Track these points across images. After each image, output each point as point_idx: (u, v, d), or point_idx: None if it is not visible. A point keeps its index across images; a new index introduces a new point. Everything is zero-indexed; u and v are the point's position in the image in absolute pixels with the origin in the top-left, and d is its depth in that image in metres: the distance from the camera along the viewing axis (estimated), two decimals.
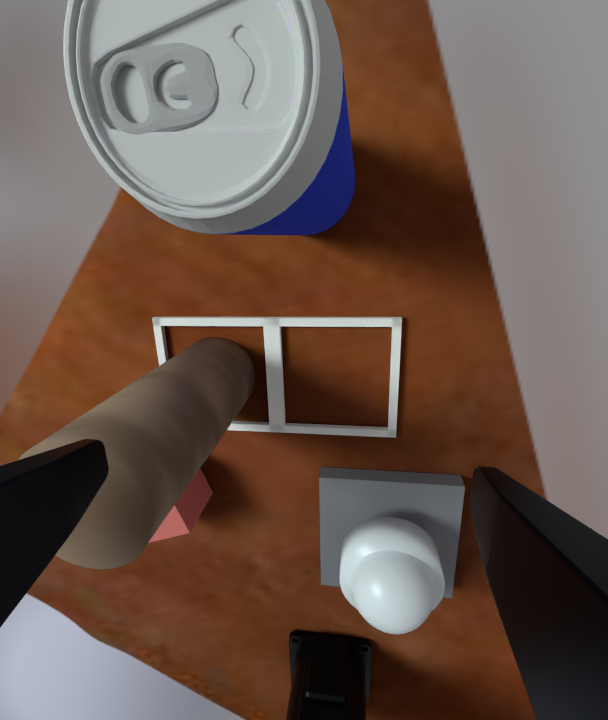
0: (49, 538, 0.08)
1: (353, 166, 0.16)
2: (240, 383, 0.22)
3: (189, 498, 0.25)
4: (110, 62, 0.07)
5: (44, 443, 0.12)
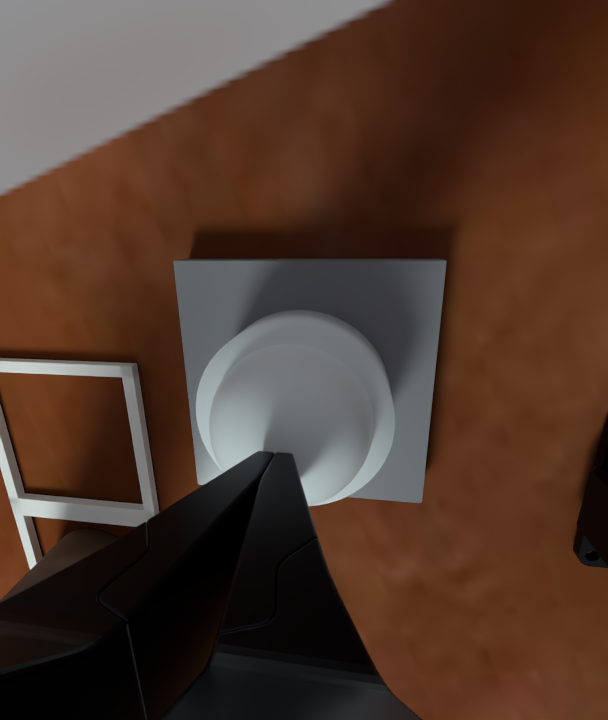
0: None
1: None
2: (36, 576, 0.16)
3: None
4: None
5: None
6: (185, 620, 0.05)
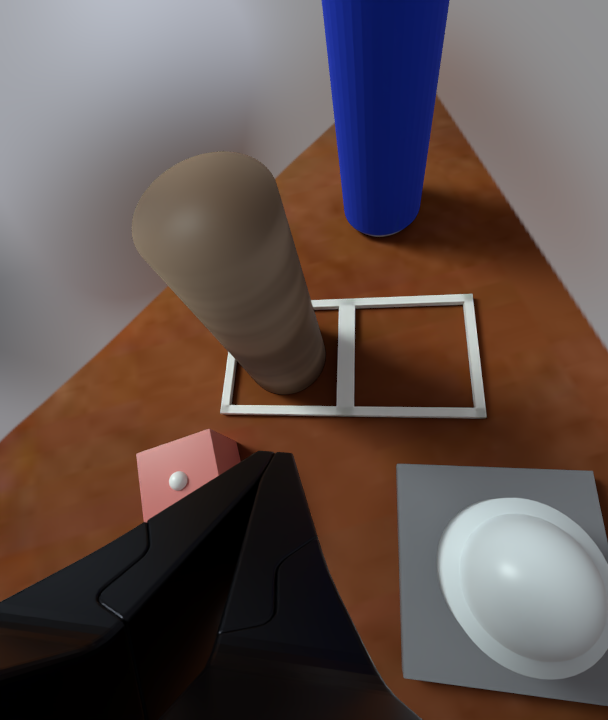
0: None
1: None
2: None
3: None
4: None
5: (195, 156, 0.13)
6: (185, 620, 0.05)
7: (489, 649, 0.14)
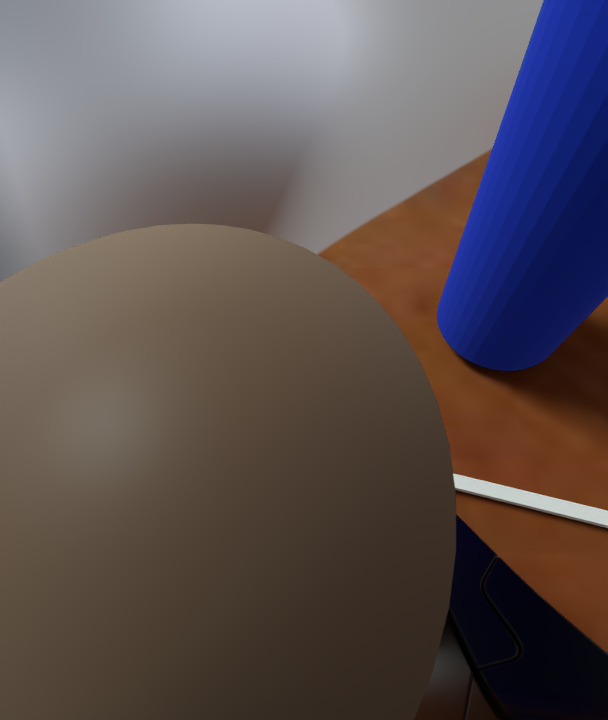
0: None
1: None
2: None
3: None
4: None
5: (159, 228, 0.04)
6: None
7: None
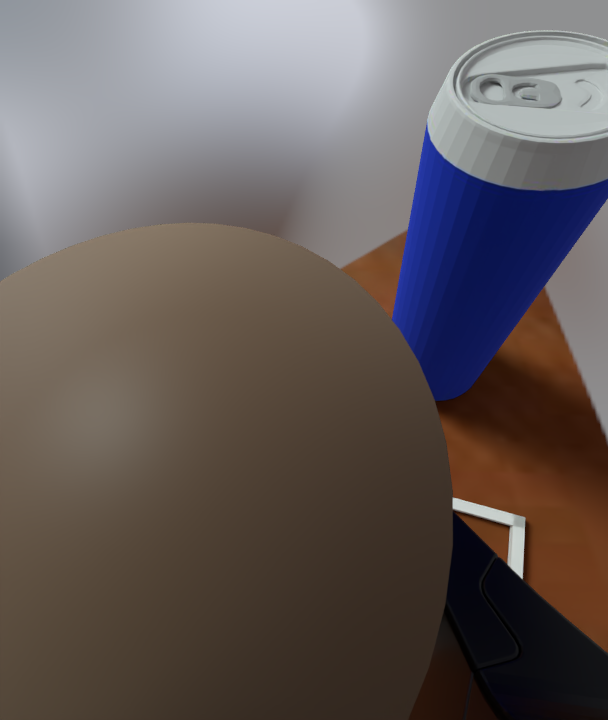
0: None
1: None
2: None
3: None
4: (480, 78, 0.10)
5: (158, 227, 0.04)
6: None
7: None
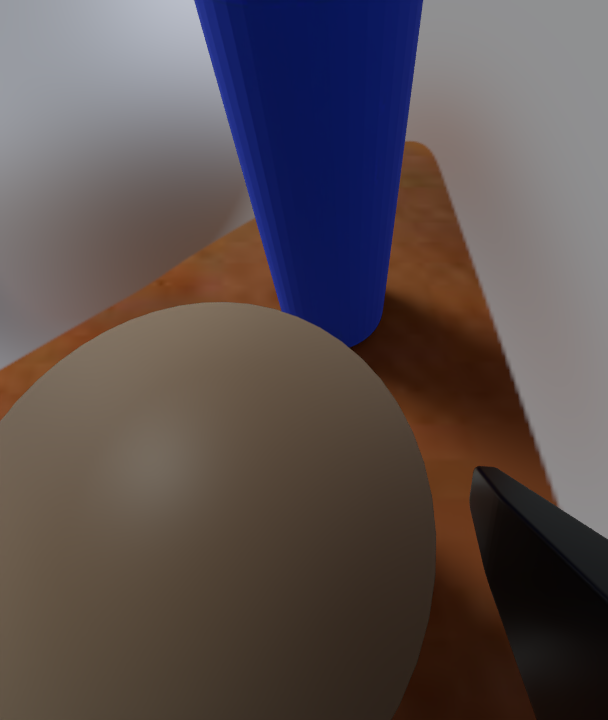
0: None
1: None
2: None
3: None
4: None
5: (201, 305, 0.05)
6: None
7: None
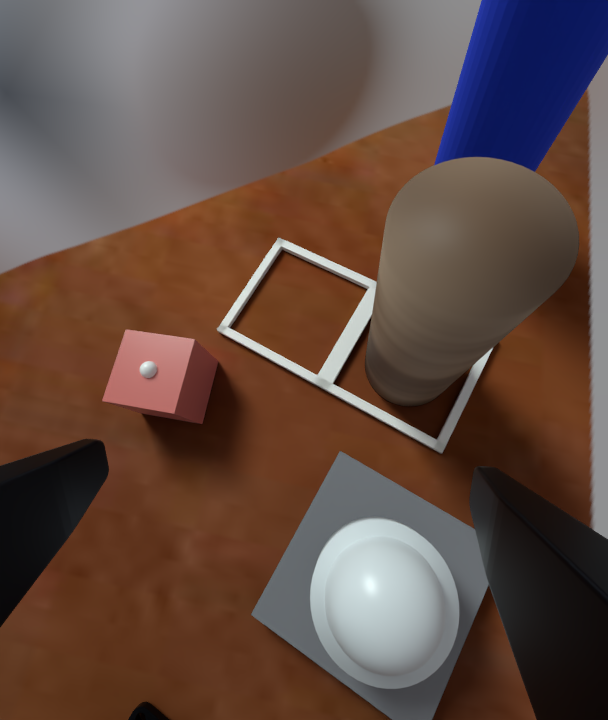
0: (49, 538, 0.08)
1: None
2: None
3: (192, 391, 0.21)
4: None
5: (487, 158, 0.11)
6: None
7: (321, 631, 0.15)
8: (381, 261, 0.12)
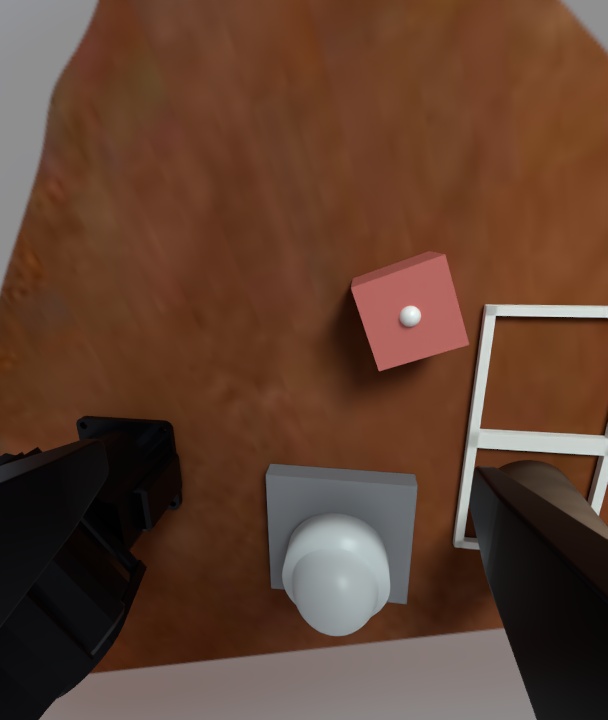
0: (49, 538, 0.08)
1: None
2: None
3: None
4: None
5: None
6: None
7: (293, 556, 0.21)
8: None
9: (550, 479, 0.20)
